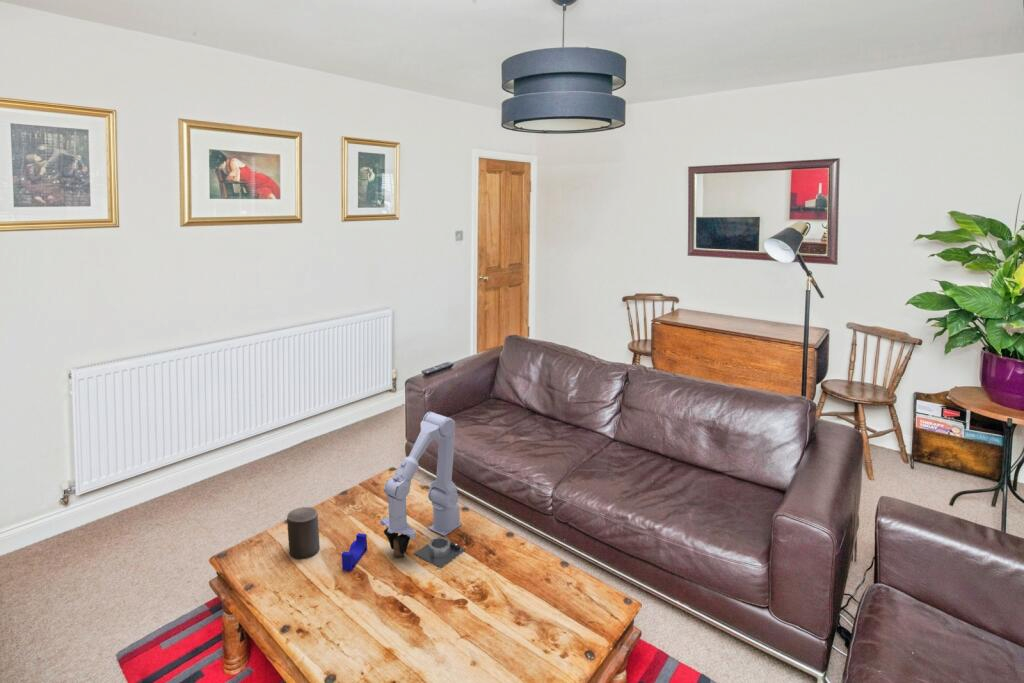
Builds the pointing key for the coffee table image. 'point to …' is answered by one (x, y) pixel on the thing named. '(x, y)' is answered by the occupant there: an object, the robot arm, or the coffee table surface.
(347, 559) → the cable clip
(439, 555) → the cup bracket
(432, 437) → the robot arm
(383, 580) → the coffee table surface
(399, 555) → the dowel
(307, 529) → the pillar candle
